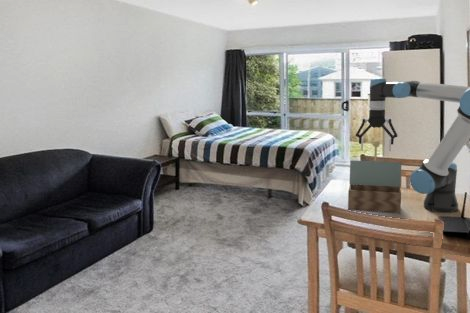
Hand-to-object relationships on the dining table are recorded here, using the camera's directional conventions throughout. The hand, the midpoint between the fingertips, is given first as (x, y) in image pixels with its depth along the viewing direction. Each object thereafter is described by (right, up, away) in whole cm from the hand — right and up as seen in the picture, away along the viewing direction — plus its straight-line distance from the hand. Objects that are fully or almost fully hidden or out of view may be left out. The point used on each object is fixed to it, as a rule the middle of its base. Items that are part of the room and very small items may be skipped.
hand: (375, 150), depth 208 cm
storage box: (-4, -29, -7) cm, 30 cm away
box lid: (-2, -6, -4) cm, 8 cm away
